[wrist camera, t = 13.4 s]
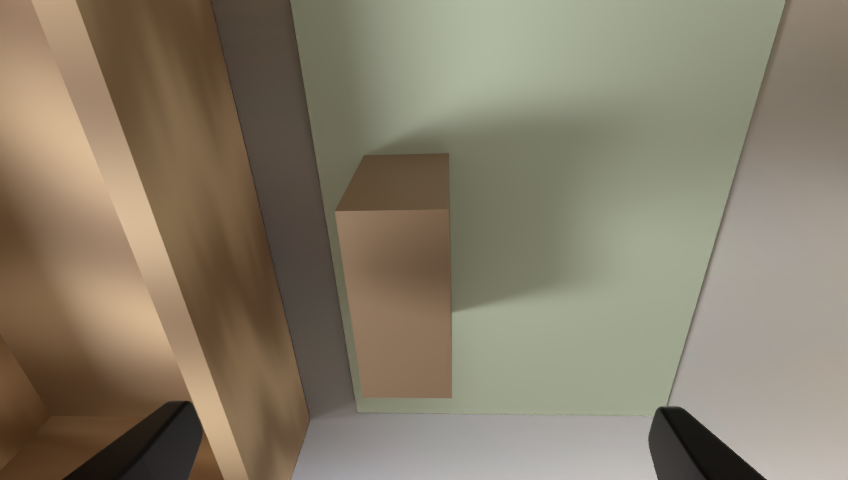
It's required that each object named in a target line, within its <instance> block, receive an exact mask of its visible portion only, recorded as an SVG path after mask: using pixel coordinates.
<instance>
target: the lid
mask: <svg viewBox="0 0 848 480" xmlns="http://www.w3.org/2000/svg"><path fill="white" fill-rule="evenodd" d="M785 2H786V0H290V3H291V9H292V15H293V21H294V27H295V33H296V39H297V46H298V52H299V58H300V64H301V70H302V76H303V82H304V89H305V95H306V101H307V107H308V113H309V119H310V125H311V132H312V138H313V144H314V150H315V156H316V162H317V168H318V175H319V181H320V187H321V193H322V199H323V205H324V211H325V218H326V224H327V230H328V236H329V242H330V248H331V254H332V261H333V267H334V273H335V279H336V285H337V291H338V298H339V304H340V310H341V316H342V322H343V328H344V334H345V341H346V347H347V353H348V359H349V365H350V371H351V377H352V384H353V390H354V396H355V402H356V408H357V413H430V414H515V415H600V416H654V415H655V411H656V409H657V408H658V407H661V406H666V405H667V401H668V398H669V395H670V391H671V388H672V385H673V381H674V378H675V374H676V371H677V368H678V364H679V361H680V357H681V354H682V351H683V347H684V344H685V340H686V337H687V334H688V330H689V327H690V324H691V320H692V317H693V313H694V310H695V307H696V303H697V300H698V296H699V293H700V290H701V286H702V283H703V279H704V276H705V273H706V269H707V266H708V263H709V259H710V256H711V252H712V249H713V246H714V242H715V239H716V235H717V232H718V229H719V225H720V222H721V218H722V215H723V212H724V208H725V205H726V202H727V198H728V195H729V191H730V188H731V185H732V181H733V178H734V174H735V171H736V168H737V164H738V161H739V157H740V154H741V151H742V147H743V144H744V141H745V137H746V134H747V130H748V127H749V124H750V120H751V117H752V113H753V110H754V107H755V103H756V100H757V96H758V93H759V90H760V86H761V83H762V79H763V76H764V73H765V69H766V66H767V63H768V59H769V56H770V52H771V49H772V46H773V42H774V39H775V35H776V32H777V29H778V25H779V22H780V18H781V15H782V12H783V8H784V5H785Z"/></svg>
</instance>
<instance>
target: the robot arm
mask: <svg viewBox="0 0 848 480" xmlns="http://www.w3.org/2000/svg"><path fill="white" fill-rule="evenodd" d="M202 437H203V429H202V425H201V423H200V420H199V418H198V415H197V413H196V410H195V408H194V405H193V404H192V403H191V402H190V401H187V400H172V401H168V402H166V403H165V404H163V405H162V406H161V407H159V408H158V409H157V410H155V411H154V412H152V413H151V414H150V415H148V416H147V417H146V418H144V419H143V420H142V421H140V422H139V423H138V424H136V425H135V426H133V427H132V428H131V429H129V430H128V431H127V432H125V433H124V434H123V435H121V436H120V437H119V438H117V439H116V440H114V441H113V442H112V443H110V444H109V445H108V446H106V447H105V448H104V449H102V450H101V451H100V452H98V453H97V454H95V455H94V456H93V457H91V458H90V459H89V460H87V461H86V462H85V463H83V464H82V465H81V466H79V467H78V468H76V469H75V470H74V471H72V472H71V473H70V474H68V475H67V476H66V477H64V478H63V479H62V480H188V479H189V476H190V473H191V470H192V468H193V465H194V462H195V459H196V456H197V453H198V450H199V447H200V444H201V441H202ZM648 441H649V449H650V452H651V456H652V460H653V463H654V467H655V471H656V474H657V478H658V480H767V479H765V478H764V477H763V476H762V475H761V474H760V473H758V472H757V471H756V470H755V469H754V468H753V467H751V466H750V465H749V464H748V463H747V462H746V461H744V460H743V459H742V458H741V457H740V456H739V455H737V454H736V453H735V452H734V451H733V450H732V449H730V448H729V447H728V446H727V445H726V444H725V443H723V442H722V441H721V440H720V439H719V438H718V437H716V436H715V435H714V434H713V433H712V432H711V431H709V430H708V429H707V428H706V427H705V426H704V425H702V424H701V423H700V422H699V421H698V420H697V419H695V418H694V417H693V416H692V415H691V414H690V413H688V412H687V411H686V410H685V409H683V408H681V407H672V406H661V407H658V408H657V409H656V411H655V415H654V418H653V422H652V425H651V429H650V432H649V438H648Z"/></svg>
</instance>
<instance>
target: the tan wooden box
mask: <svg viewBox="0 0 848 480" xmlns="http://www.w3.org/2000/svg"><path fill="white" fill-rule="evenodd" d="M172 400H187V401H190V402H191V403H192V404H193V405H194V408H195V410H196V413H197V415H198V418H199V420H200V423H201V425H202V429H203V437H202V441H201V444H200V447H199V450H198V453H197V456H196V459H195V462H194V465H193V468H192V470H191V473H190V476H189V479H188V480H291V478H292V475H293V472H294V469H295V466H296V462H297V459H298V456H299V453H300V450H301V447H302V444H303V441H304V438H305V435H306V432H307V429H308V426H309V423H310V418H309V414H308V409H307V405H306V401H305V397H304V392H303V388H302V384H301V380H300V376H299V371H298V367H297V363H296V359H295V355H294V350H293V346H292V342H291V338H290V333H289V329H288V325H287V321H286V317H285V312H284V308H283V304H282V300H281V296H280V291H279V287H278V283H277V279H276V274H275V270H274V266H273V262H272V258H271V253H270V249H269V245H268V241H267V237H266V232H265V228H264V224H263V220H262V215H261V211H260V207H259V203H258V199H257V194H256V190H255V186H254V182H253V178H252V173H251V169H250V165H249V161H248V157H247V152H246V148H245V144H244V140H243V135H242V131H241V127H240V123H239V119H238V114H237V110H236V106H235V102H234V98H233V93H232V89H231V85H230V81H229V76H228V72H227V68H226V64H225V60H224V55H223V51H222V47H221V43H220V39H219V34H218V30H217V26H216V22H215V17H214V13H213V9H212V5H211V1H210V0H0V480H62V479H63V478H64V477H66V476H67V475H68V474H70V473H71V472H72V471H74V470H75V469H76V468H78V467H79V466H81V465H82V464H83V463H85V462H86V461H87V460H89V459H90V458H91V457H93V456H94V455H95V454H97V453H98V452H100V451H101V450H102V449H104V448H105V447H106V446H108V445H109V444H110V443H112V442H113V441H114V440H116V439H117V438H119V437H120V436H121V435H123V434H124V433H125V432H127V431H128V430H129V429H131V428H132V427H133V426H135V425H136V424H138V423H139V422H140V421H142V420H143V419H144V418H146V417H147V416H148V415H150V414H151V413H152V412H154V411H155V410H157V409H158V408H159V407H161V406H162V405H163V404H165V403H166V402H168V401H172Z"/></svg>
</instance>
